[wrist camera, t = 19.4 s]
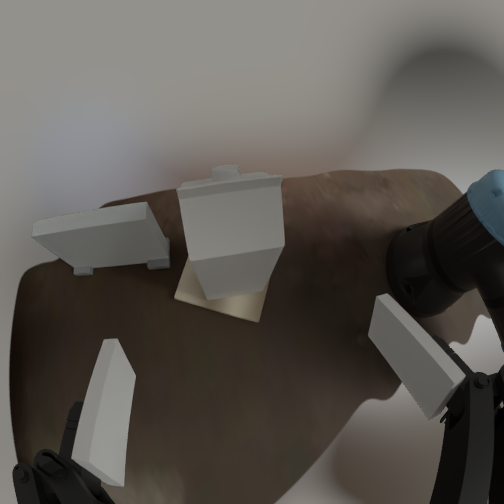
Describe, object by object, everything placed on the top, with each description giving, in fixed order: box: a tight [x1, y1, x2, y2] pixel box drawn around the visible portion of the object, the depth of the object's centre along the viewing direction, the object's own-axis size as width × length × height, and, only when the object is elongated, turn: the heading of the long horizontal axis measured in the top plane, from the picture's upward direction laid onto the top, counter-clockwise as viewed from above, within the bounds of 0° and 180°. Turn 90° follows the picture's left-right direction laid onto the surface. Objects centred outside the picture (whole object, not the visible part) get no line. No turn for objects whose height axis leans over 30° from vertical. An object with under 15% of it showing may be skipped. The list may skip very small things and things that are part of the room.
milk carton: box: [176, 164, 285, 300], centre depth 26 cm, size 7×7×19 cm
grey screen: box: [31, 202, 170, 276], centre depth 30 cm, size 15×4×12 cm, turn 97°
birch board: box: [174, 256, 271, 323], centre depth 35 cm, size 11×11×1 cm
